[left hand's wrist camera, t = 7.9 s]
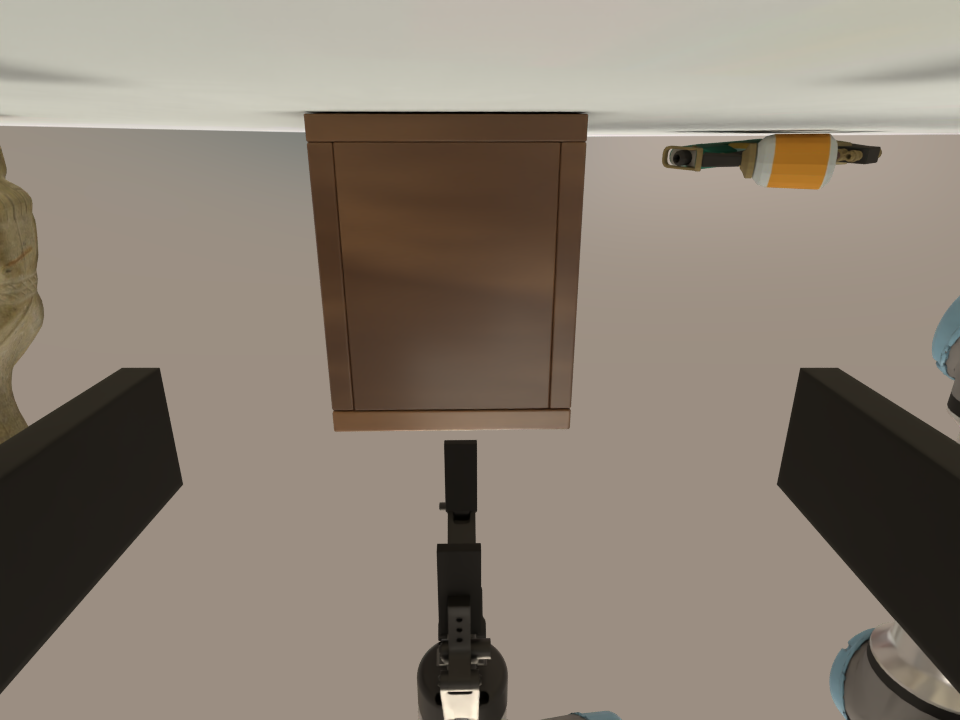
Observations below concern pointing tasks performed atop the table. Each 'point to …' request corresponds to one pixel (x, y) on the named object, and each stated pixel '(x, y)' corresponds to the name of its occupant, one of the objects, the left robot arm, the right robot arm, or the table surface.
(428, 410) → the lid
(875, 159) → the spray gun
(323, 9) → the table surface
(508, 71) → the table surface
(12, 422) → the sculpture
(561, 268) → the chest
